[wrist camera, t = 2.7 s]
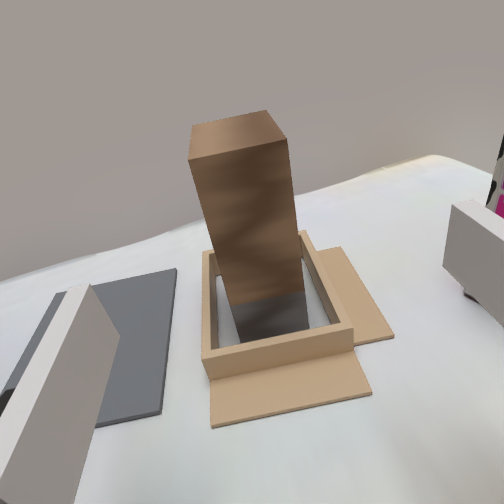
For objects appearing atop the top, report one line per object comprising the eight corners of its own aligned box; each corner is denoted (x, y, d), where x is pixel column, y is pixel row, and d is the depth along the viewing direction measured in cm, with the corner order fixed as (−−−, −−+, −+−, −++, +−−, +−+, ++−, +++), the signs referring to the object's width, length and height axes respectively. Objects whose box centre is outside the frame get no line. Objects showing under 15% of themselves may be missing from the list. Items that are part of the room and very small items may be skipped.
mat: (-27, 453, 22) (-31, 450, 21) (58, 296, 34) (56, 293, 34) (161, 413, 21) (159, 410, 21) (177, 271, 34) (175, 268, 34)
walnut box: (241, 346, 25) (187, 159, 17) (234, 285, 31) (192, 125, 23) (309, 332, 25) (287, 138, 17) (289, 273, 31) (266, 109, 23)
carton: (211, 428, 20) (200, 404, 19) (208, 255, 35) (202, 235, 34) (422, 383, 20) (427, 356, 19) (329, 230, 35) (327, 208, 34)
